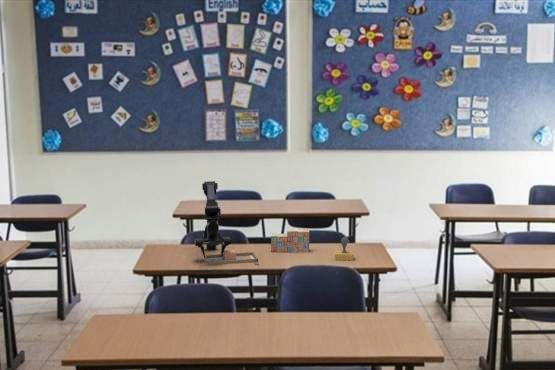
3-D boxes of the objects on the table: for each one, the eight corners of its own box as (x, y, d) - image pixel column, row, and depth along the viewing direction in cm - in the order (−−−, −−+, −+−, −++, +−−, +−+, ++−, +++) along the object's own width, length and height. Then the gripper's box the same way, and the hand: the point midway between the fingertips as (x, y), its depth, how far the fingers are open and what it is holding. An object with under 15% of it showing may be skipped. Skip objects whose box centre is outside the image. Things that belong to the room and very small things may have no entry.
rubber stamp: (334, 260, 336) (335, 238, 334) (334, 257, 342) (335, 235, 339) (353, 260, 335) (354, 239, 333) (353, 257, 341) (353, 236, 339)
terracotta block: (223, 257, 336) (223, 250, 335) (234, 257, 337) (234, 249, 336) (224, 260, 331) (224, 253, 330) (236, 259, 332) (236, 252, 332)
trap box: (205, 260, 336) (205, 255, 336) (253, 257, 342) (253, 252, 341) (208, 267, 324) (208, 262, 323) (258, 264, 329) (258, 258, 329)
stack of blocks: (270, 252, 352) (270, 230, 349) (271, 249, 358) (271, 228, 356) (309, 253, 350) (309, 231, 348) (309, 249, 356) (309, 228, 354)
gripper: (196, 233, 320) (196, 262, 322) (232, 231, 323) (232, 260, 326) (194, 228, 330) (194, 256, 333) (229, 226, 334) (229, 254, 337)
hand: (213, 257), depth 332 cm, fingers open, 9 cm apart
